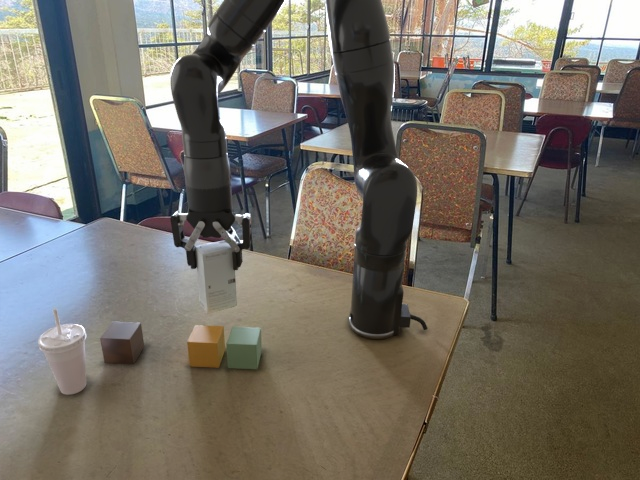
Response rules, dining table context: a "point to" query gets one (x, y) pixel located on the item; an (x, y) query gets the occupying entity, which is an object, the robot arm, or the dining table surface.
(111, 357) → the block walnut
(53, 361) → the smoothie
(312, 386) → the dining table surface
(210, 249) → the cosmetic box
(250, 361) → the block sage
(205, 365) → the block ochre
